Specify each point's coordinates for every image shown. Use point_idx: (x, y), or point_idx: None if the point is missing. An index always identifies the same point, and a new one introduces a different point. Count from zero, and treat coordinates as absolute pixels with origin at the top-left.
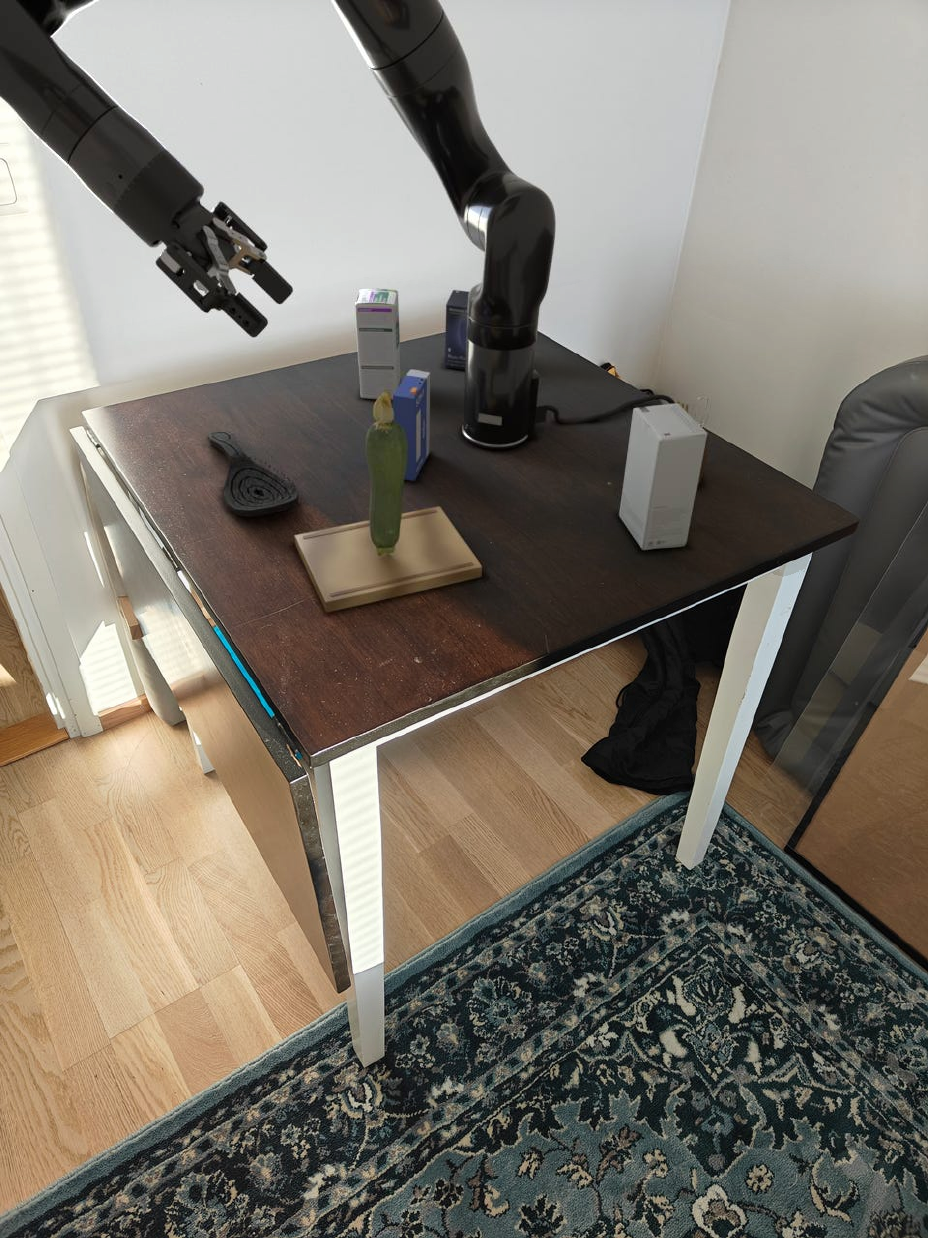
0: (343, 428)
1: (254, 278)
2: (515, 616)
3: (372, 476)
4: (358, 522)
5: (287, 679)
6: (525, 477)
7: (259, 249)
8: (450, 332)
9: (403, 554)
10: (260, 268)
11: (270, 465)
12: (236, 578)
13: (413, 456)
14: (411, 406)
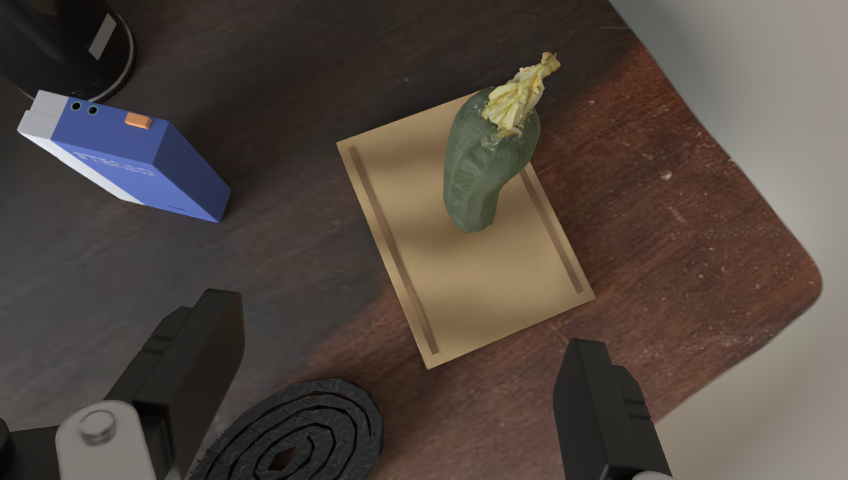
0: (23, 330)
1: (184, 465)
2: (568, 58)
3: (500, 186)
4: (387, 267)
5: (727, 337)
6: (225, 22)
7: (60, 448)
8: None
9: None
10: (175, 430)
11: (206, 449)
12: (519, 453)
13: (215, 174)
14: (176, 134)
